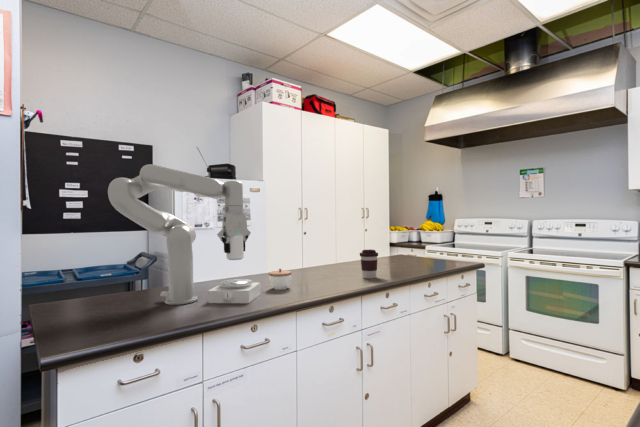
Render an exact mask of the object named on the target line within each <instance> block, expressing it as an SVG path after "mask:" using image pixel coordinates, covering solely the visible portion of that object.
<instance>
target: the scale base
mask: <svg viewBox="0 0 640 427" xmlns="http://www.w3.org/2000/svg"><path fill="white" fill-rule="evenodd" d="M261 286H262V285H261V282H252V284H251V285H248V286H244V287H234V288H225V287H219V286H218V285H216V286H214V287H212V288H210V289H208V290H207V304H250V303H251V302H253V301H254V300H255V299H256V298H257V297H259V296H260V295H261V294H262V293H261V292H262V288H261Z"/></svg>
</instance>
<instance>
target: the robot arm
mask: <svg viewBox="0 0 640 427" xmlns="http://www.w3.org/2000/svg"><path fill="white" fill-rule="evenodd" d="M243 187H244V186H243V183H242V182H241V181H240V180H226V181H225V182H223V181H220V180H218V179H215V178H212V177H207V176H202V175H199V174H195V173H189V172H186V171H181V170H178V169H174V168H170V167H166V166H161V165H157V164H151V163H150V164H149V163H148V164H145V165H143V166H142V167H141V168H140V171H139V175H137V176H135V177H134V178H133V177H132V178H128V177H116V178H114V179H113V180H112V181H110V182H109V185H108V188H107V195H108V200H109V202H110V204H111V205H112V207H113V208H114V209H115V211H117V212H118V213H120V214H121V215H123V216H124V217H125V218H128V219H129V220H130V221H132V222H134V223H135V224H137V225H139V226H140V227H142V228H144V229H146V230H147V231H148V232H150V233H152V234H156V235H159V234H160V235H162V236H164V237H165V238H166V248H167V266H168V267H167V269H168V290H167V291H161V292H160V296H159V297H160V298H164V297H165V300H164V304H165V305H170V306H171V305H172V306H175V305H176V306H177V305H178V306H179V305H187V304H191V303H195V302H196V301H198V296H197V295H195V294H194V290H195V288H194V254H193V243H194V242H195V240H196V237H197V233H196V230H195V228H194V227H193V226H191V225H190V224H189V223H187V222H185V221H183V220H181V219H180V218H178V217H176V216H174V215H173V214H172V213H169V212H167V211H162V210H158V209H155V208H154V207H152V206H150V205H149V204H147V203H145V202H144V201H142V200H140V198H142V197H143V196H146V195H147V194H149V193H151V192H153V191H156V190H157V189H159V188H161V189H166V190H171V191H174V192H179V193H191V194H195V195H200V196H203V197H208V198H212V199H215V200H218V199H224V206H223V207H222V211H224V213H223V216H222V225H221V229H220V231H218V233H217V234H216V235H217V237H218V238H219V240H220V241H221V242H222V244H223V252H224V253H225V254H226V253H230V243H229V240H230V237H234V235H235V234H236V233H238V231H240V232H239V233H241V234H242V235H243V251H244V252H246V242H247V240H248V239H249V236H250V235H251V231H250V230H249V229H248V223H247V222H248V221H247V217H246V213H245V212H244V200H243V199H244V197H243V195H244V194H243V193H244V190H243V189H244V188H243Z"/></svg>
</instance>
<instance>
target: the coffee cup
mask: <svg viewBox="0 0 640 427" xmlns="http://www.w3.org/2000/svg"><path fill="white" fill-rule="evenodd" d="M359 256H360V266H361V273H362V278H364V279H373V280H374V279H376V278H377V270H378V257H379V253H378V252H376V250H375V249H363V250H362V251H361V252H359Z"/></svg>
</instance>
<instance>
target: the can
mask: <svg viewBox="0 0 640 427" xmlns="http://www.w3.org/2000/svg"><path fill="white" fill-rule="evenodd" d="M239 232H240V231H238V233H236V234H235V235H234V237H230V240H229V243H230V253H225V254H226V259H227V260H228V261H240V260H243V259H244V256H245V255H244V254H245V253H244V252H245V251H243V235H242V234H241V233H239Z"/></svg>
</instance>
